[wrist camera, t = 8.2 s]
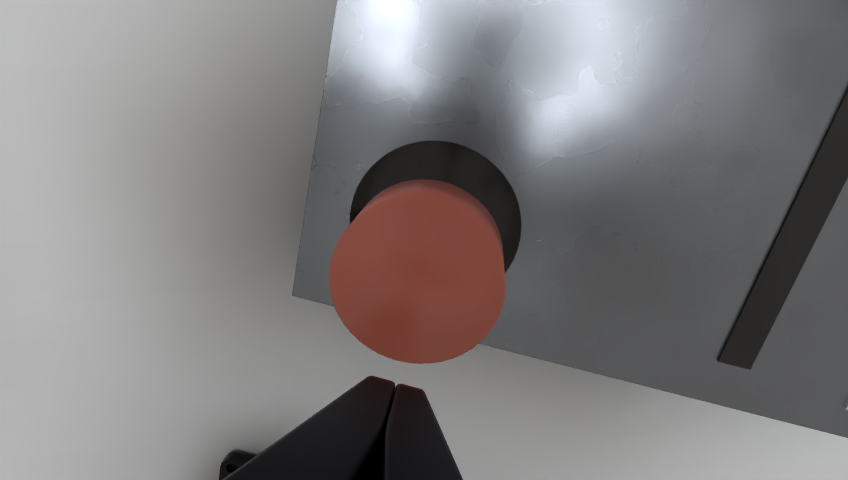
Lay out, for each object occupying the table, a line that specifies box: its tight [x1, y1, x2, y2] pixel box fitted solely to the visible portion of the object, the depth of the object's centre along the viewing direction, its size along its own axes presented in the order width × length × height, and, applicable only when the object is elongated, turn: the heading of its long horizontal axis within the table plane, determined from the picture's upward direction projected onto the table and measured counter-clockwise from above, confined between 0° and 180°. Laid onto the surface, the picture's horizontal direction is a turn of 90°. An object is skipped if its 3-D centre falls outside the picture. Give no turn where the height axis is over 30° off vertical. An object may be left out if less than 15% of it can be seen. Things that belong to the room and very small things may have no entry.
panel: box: [292, 0, 848, 438], centre depth 14 cm, size 18×20×4 cm
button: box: [329, 179, 506, 364], centre depth 13 cm, size 4×4×2 cm
